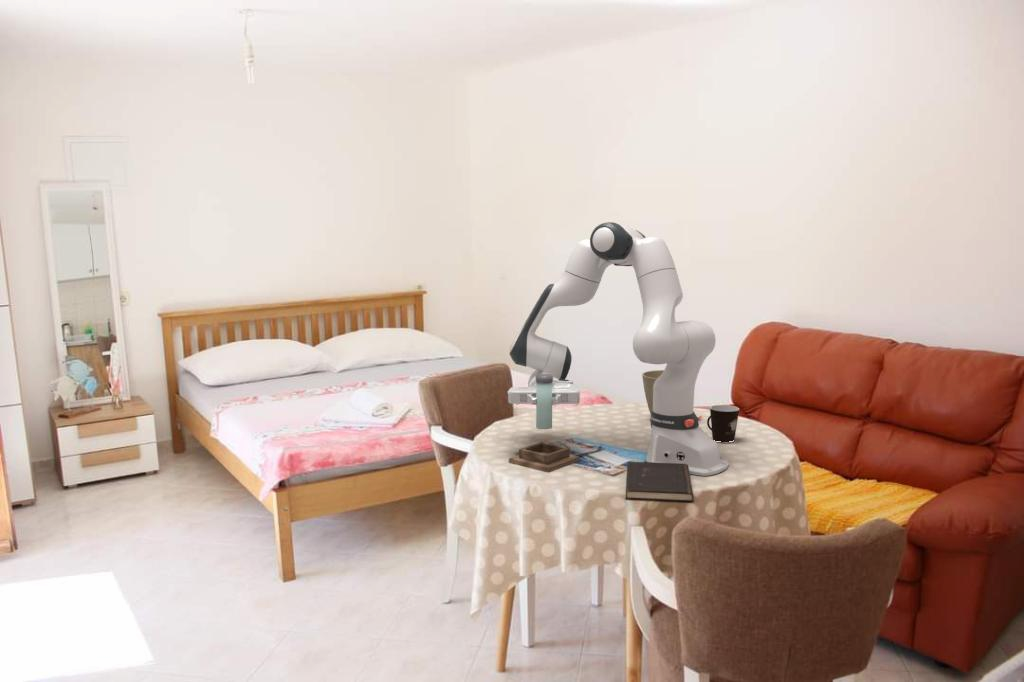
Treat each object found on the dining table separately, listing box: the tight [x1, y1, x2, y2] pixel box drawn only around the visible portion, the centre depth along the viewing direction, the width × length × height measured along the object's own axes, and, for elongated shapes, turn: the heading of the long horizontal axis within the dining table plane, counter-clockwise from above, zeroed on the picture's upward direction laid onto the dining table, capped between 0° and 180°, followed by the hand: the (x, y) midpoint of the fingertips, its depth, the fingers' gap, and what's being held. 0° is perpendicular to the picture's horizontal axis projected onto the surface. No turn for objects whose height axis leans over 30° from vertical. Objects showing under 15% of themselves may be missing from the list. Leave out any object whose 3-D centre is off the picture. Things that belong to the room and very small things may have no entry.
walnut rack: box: [508, 441, 581, 473], centre depth 236 cm, size 14×14×4 cm
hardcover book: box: [625, 461, 694, 503], centre depth 214 cm, size 16×23×2 cm
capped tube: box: [535, 374, 553, 430], centre depth 233 cm, size 5×5×15 cm
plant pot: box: [641, 369, 665, 415], centre depth 279 cm, size 15×15×16 cm
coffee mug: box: [706, 404, 740, 442], centre depth 256 cm, size 12×9×10 cm
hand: (544, 401), depth 232 cm, fingers closed on capped tube, 4 cm apart
